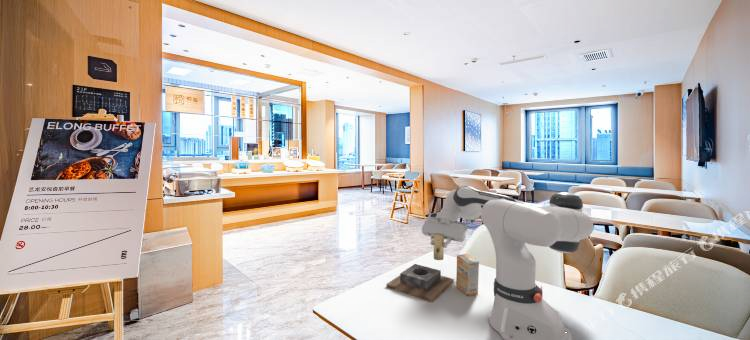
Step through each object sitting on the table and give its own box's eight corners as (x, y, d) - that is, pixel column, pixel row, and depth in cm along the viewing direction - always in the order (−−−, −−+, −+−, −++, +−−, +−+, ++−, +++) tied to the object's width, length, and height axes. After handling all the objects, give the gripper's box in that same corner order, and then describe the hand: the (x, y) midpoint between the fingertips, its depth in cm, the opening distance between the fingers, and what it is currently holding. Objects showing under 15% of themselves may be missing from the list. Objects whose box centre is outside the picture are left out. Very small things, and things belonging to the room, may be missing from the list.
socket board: (453, 281, 126) (453, 269, 125) (432, 302, 110) (432, 288, 109) (411, 270, 138) (411, 259, 137) (386, 286, 122) (386, 274, 121)
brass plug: (445, 258, 138) (445, 234, 137) (440, 261, 134) (441, 236, 133) (436, 255, 141) (436, 232, 140) (431, 258, 137) (432, 234, 136)
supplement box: (455, 286, 122) (456, 254, 121) (465, 284, 123) (466, 253, 122) (467, 296, 114) (468, 262, 113) (478, 294, 115) (479, 260, 114)
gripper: (470, 227, 139) (462, 254, 132) (430, 220, 151) (420, 244, 144) (467, 219, 135) (458, 246, 128) (426, 213, 148) (415, 238, 141)
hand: (438, 245), depth 136 cm, fingers closed on brass plug, 4 cm apart
